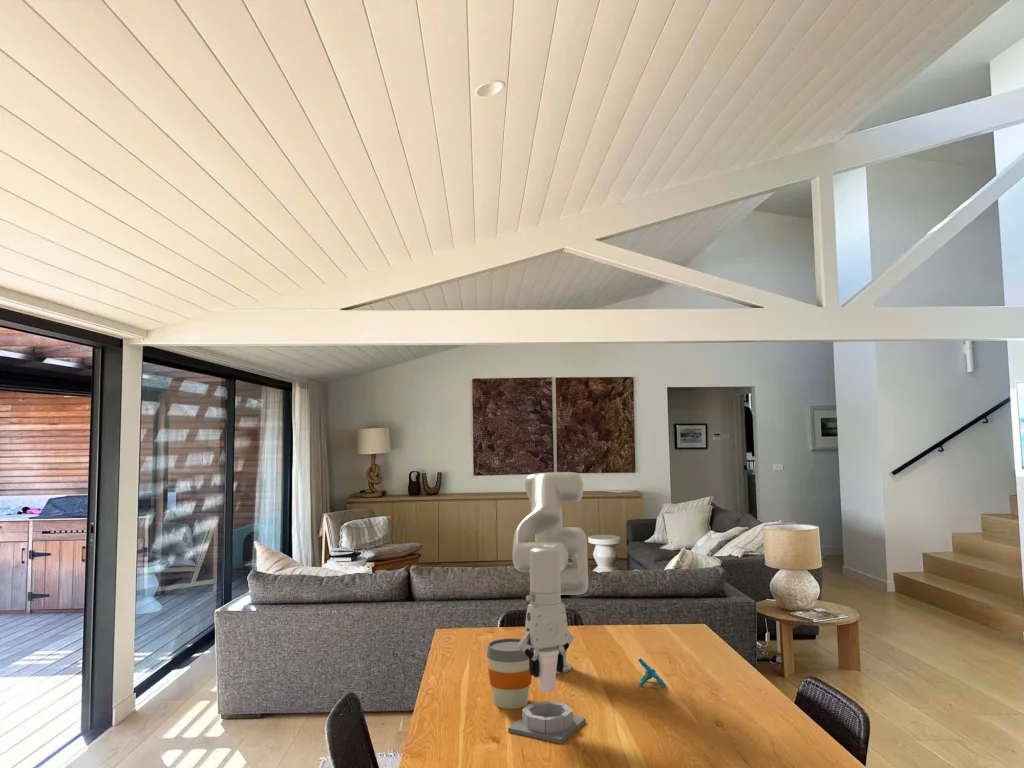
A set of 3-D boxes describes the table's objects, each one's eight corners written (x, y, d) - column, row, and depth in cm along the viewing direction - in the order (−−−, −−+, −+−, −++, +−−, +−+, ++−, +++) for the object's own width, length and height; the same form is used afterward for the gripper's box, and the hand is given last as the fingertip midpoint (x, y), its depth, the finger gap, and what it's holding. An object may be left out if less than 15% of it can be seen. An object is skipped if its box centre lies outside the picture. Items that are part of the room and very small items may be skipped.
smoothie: (532, 685, 173) (531, 627, 175) (558, 684, 174) (557, 626, 175) (535, 694, 167) (534, 634, 168) (562, 693, 167) (561, 633, 169)
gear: (670, 687, 192) (642, 659, 194) (655, 703, 191) (628, 675, 194) (665, 679, 203) (639, 653, 205) (651, 694, 202) (625, 668, 204)
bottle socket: (508, 732, 167) (507, 714, 168) (535, 712, 179) (535, 695, 180) (561, 743, 160) (560, 725, 161) (585, 722, 173) (585, 705, 173)
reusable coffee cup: (540, 696, 190) (539, 640, 192) (525, 713, 179) (525, 653, 180) (496, 691, 194) (496, 636, 196) (480, 708, 183) (479, 649, 184)
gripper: (522, 605, 165) (523, 684, 163) (583, 597, 173) (584, 672, 172) (507, 599, 172) (508, 675, 170) (566, 591, 180) (568, 664, 178)
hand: (546, 672), depth 171 cm, fingers closed on smoothie, 6 cm apart
